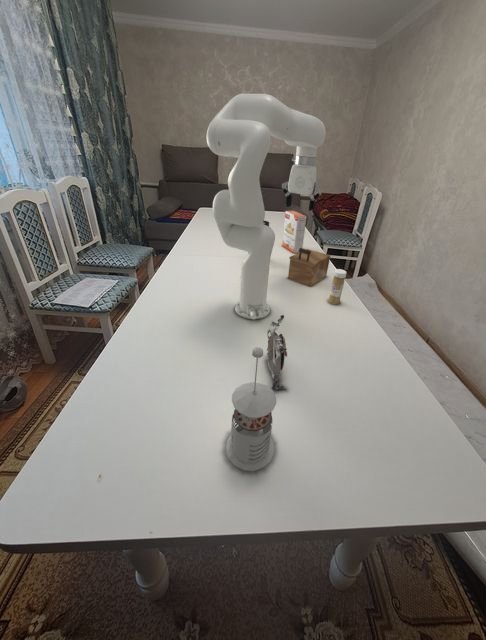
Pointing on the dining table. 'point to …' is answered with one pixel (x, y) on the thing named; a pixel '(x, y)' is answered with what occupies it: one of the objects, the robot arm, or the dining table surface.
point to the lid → (309, 257)
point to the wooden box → (307, 272)
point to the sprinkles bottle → (337, 286)
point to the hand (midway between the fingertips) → (299, 208)
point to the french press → (252, 424)
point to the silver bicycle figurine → (276, 353)
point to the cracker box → (294, 231)
